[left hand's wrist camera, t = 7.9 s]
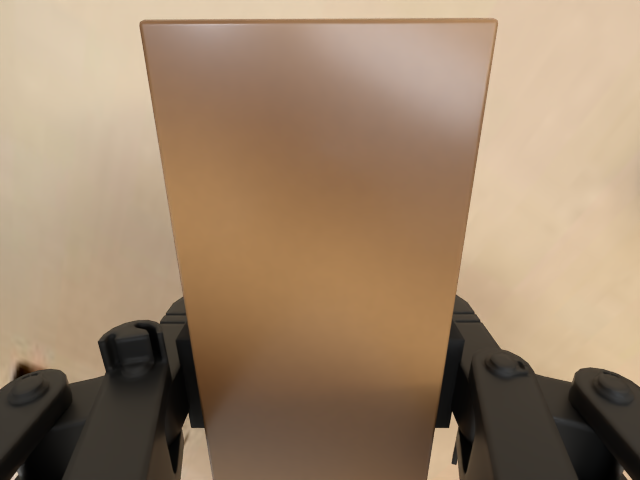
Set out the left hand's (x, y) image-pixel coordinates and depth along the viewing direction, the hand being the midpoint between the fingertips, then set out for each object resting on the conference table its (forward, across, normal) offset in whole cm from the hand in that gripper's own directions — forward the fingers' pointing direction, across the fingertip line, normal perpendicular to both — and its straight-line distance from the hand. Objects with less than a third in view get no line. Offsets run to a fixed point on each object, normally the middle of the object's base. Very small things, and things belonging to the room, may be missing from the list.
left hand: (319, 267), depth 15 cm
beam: (0, 0, -34) cm, 34 cm away
